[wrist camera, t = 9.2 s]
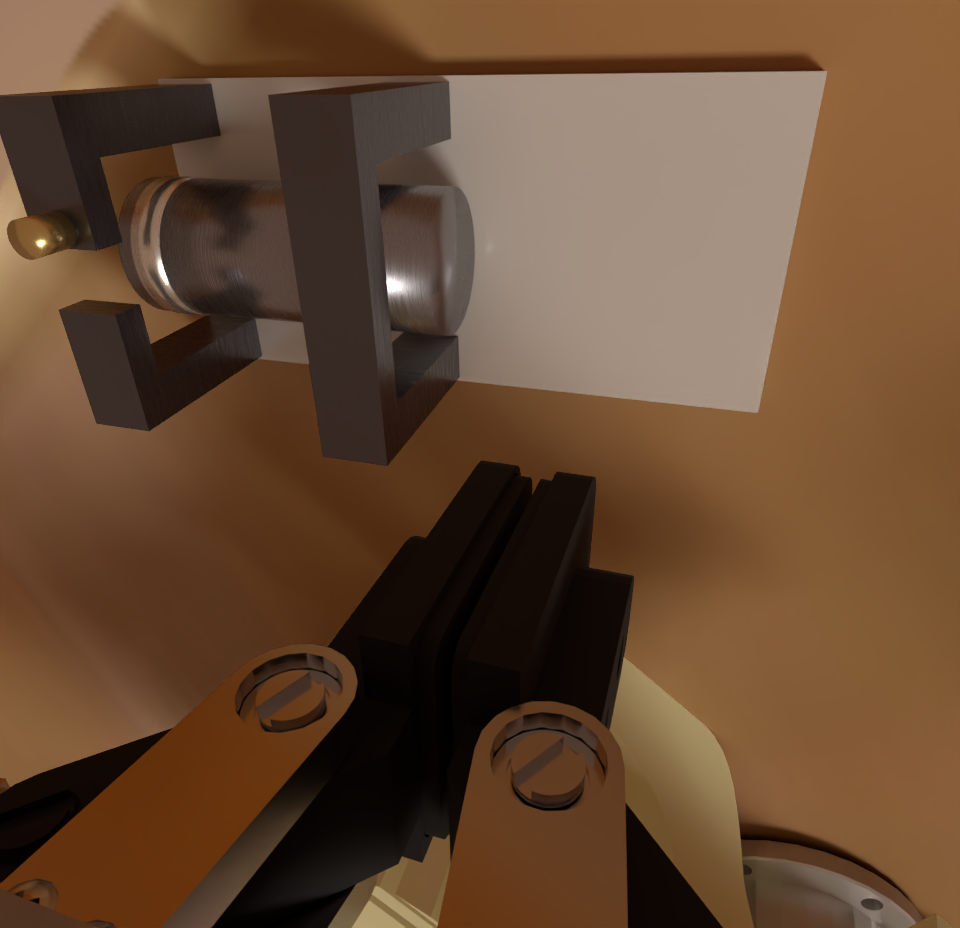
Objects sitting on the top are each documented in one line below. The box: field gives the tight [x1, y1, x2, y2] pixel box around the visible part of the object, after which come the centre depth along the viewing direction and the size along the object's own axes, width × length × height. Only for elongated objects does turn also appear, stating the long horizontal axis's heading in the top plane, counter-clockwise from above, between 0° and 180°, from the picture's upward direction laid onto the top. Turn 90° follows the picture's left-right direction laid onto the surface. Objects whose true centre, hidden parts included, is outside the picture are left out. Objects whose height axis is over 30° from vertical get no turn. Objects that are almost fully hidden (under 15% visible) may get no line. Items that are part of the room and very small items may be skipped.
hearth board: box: [158, 70, 827, 413], centre depth 23 cm, size 20×10×1 cm, turn 92°
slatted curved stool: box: [352, 657, 953, 928], centre depth 26 cm, size 30×16×18 cm, turn 143°
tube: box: [118, 176, 475, 336], centre depth 22 cm, size 10×4×4 cm, turn 92°
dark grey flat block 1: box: [268, 82, 460, 466], centre depth 20 cm, size 2×9×6 cm, turn 2°
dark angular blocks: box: [0, 84, 262, 431], centre depth 22 cm, size 2×9×8 cm, turn 2°
